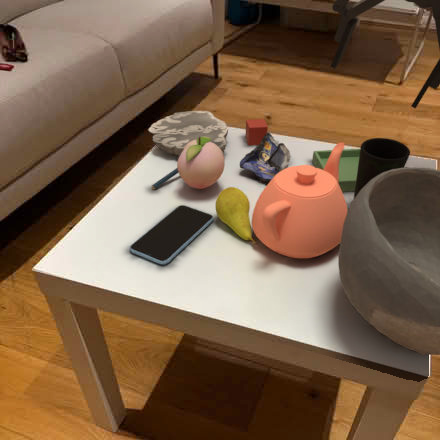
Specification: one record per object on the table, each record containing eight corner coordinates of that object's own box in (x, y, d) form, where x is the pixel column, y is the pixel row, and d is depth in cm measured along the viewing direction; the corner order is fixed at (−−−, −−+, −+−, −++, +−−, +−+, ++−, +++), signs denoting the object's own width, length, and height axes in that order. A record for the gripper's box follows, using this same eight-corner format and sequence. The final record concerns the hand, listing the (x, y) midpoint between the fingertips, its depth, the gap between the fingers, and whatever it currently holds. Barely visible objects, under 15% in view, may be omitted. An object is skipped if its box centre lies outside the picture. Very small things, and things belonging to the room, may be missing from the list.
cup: (388, 228, 79) (408, 163, 70) (343, 218, 81) (357, 155, 72) (392, 204, 84) (411, 142, 76) (350, 196, 86) (364, 134, 78)
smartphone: (215, 215, 80) (164, 263, 70) (215, 219, 80) (164, 267, 71) (180, 202, 82) (126, 247, 73) (180, 206, 83) (127, 251, 74)
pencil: (150, 184, 87) (207, 145, 92) (152, 189, 88) (209, 149, 93) (153, 185, 86) (210, 145, 92) (155, 190, 87) (212, 150, 92)
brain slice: (144, 128, 106) (142, 115, 104) (216, 121, 109) (216, 108, 107) (158, 170, 92) (156, 156, 90) (239, 160, 96) (240, 146, 94)
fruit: (211, 204, 82) (233, 263, 77) (209, 186, 76) (232, 248, 72) (242, 194, 82) (266, 252, 78) (242, 175, 76) (267, 237, 72)
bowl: (442, 425, 53) (536, 356, 42) (277, 297, 61) (319, 209, 49) (502, 314, 68) (584, 241, 56) (363, 221, 75) (411, 140, 64)
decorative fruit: (218, 203, 84) (218, 152, 77) (174, 198, 85) (171, 147, 78) (228, 177, 90) (229, 128, 83) (187, 173, 91) (185, 123, 84)
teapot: (295, 191, 87) (304, 127, 78) (370, 220, 80) (388, 154, 72) (223, 248, 74) (224, 180, 66) (304, 288, 68) (317, 218, 59)
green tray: (368, 158, 97) (371, 147, 95) (391, 189, 88) (394, 178, 86) (311, 161, 96) (313, 150, 94) (329, 192, 87) (331, 181, 85)
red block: (262, 136, 104) (264, 118, 101) (266, 144, 101) (267, 126, 98) (245, 137, 103) (246, 119, 101) (248, 145, 100) (249, 127, 98)
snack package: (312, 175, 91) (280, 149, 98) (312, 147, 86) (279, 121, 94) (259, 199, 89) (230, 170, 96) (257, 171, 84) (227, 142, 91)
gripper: (349, -118, 53) (293, 58, 71) (558, -28, 49) (444, 133, 67) (371, -132, 57) (313, 38, 75) (566, -50, 53) (456, 108, 71)
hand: (375, 83), depth 71 cm, fingers open, 13 cm apart
